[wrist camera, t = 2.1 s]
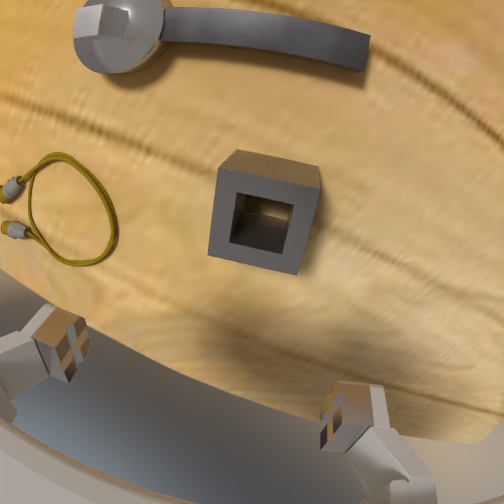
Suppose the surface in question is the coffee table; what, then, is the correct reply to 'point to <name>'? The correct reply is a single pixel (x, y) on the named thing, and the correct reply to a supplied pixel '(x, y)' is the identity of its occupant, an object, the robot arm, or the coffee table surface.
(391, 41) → the coffee table surface
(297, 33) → the ratchet
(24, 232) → the extension cord
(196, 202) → the coffee table surface
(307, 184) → the socket
